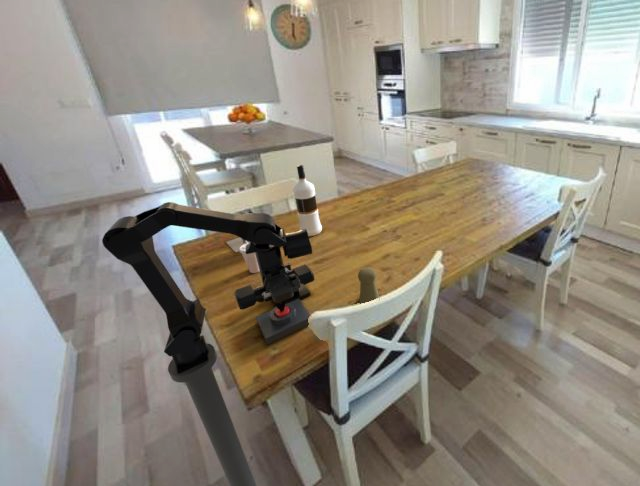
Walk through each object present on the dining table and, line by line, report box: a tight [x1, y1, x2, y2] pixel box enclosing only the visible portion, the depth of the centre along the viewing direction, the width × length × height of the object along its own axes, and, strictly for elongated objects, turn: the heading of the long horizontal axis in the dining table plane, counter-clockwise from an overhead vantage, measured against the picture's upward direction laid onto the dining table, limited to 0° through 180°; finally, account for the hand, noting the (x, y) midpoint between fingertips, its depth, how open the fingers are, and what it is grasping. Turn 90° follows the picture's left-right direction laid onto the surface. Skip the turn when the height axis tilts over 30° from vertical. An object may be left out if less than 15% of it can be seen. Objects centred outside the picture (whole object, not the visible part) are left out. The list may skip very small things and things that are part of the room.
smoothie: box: [239, 240, 260, 274], centre depth 110 cm, size 6×6×14 cm
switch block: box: [255, 299, 311, 345], centre depth 88 cm, size 12×10×4 cm
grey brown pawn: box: [357, 266, 380, 305], centre depth 95 cm, size 6×6×11 cm
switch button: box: [275, 306, 290, 317], centre depth 88 cm, size 4×4×2 cm
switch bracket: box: [274, 263, 311, 307], centre depth 98 cm, size 10×8×10 cm
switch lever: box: [256, 267, 289, 303], centre depth 96 cm, size 12×3×3 cm, turn 128°
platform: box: [225, 237, 249, 253], centre depth 133 cm, size 12×18×7 cm, turn 136°
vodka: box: [292, 164, 323, 237], centre depth 133 cm, size 9×9×30 cm
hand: (281, 310), depth 88 cm, fingers closed, pressing on switch button
